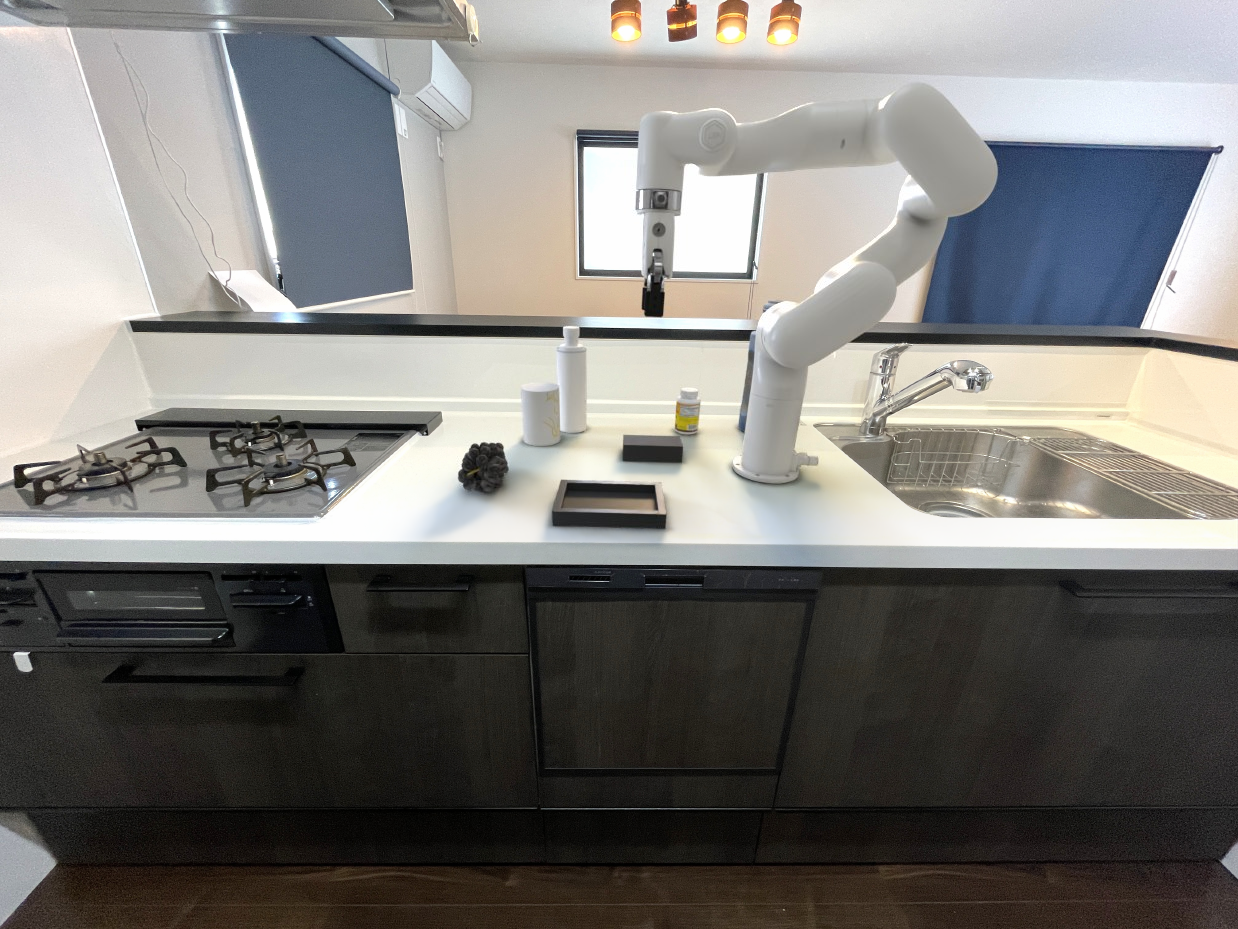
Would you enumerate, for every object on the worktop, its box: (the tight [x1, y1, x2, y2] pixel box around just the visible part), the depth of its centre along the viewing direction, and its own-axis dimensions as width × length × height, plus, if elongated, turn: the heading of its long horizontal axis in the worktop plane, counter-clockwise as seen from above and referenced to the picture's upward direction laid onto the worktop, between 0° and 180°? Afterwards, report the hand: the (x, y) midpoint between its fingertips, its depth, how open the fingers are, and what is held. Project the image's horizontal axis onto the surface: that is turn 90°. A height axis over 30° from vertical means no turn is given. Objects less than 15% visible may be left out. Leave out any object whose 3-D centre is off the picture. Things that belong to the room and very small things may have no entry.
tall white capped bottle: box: [556, 325, 588, 434], centre depth 112 cm, size 7×7×25 cm
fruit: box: [457, 441, 510, 493], centre depth 88 cm, size 9×8×15 cm
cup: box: [520, 381, 561, 447], centre depth 107 cm, size 8×8×12 cm
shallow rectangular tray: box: [551, 479, 667, 530], centre depth 80 cm, size 17×11×2 cm, turn 89°
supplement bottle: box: [674, 387, 702, 436], centre depth 115 cm, size 6×6×10 cm
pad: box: [622, 434, 684, 463], centre depth 102 cm, size 12×6×4 cm, turn 89°
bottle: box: [737, 299, 789, 433], centre depth 114 cm, size 10×10×30 cm
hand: (651, 313), depth 87 cm, fingers open, 9 cm apart
